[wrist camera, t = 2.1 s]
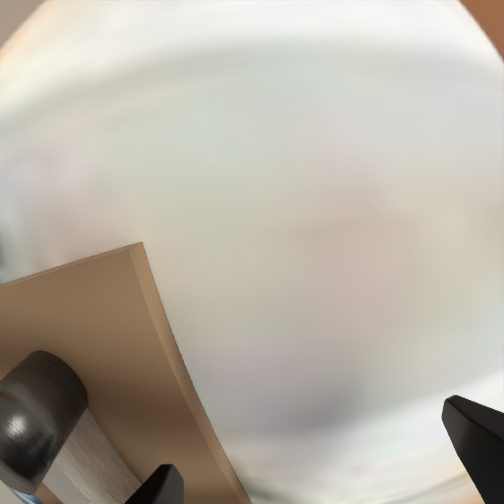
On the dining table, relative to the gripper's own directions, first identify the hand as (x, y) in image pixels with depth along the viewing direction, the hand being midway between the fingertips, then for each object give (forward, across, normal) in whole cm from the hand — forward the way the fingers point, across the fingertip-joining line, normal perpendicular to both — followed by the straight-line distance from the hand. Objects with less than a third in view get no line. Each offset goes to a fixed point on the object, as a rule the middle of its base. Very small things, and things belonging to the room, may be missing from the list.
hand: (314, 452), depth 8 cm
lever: (+1, +9, +4) cm, 10 cm away
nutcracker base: (+3, +12, +4) cm, 13 cm away
